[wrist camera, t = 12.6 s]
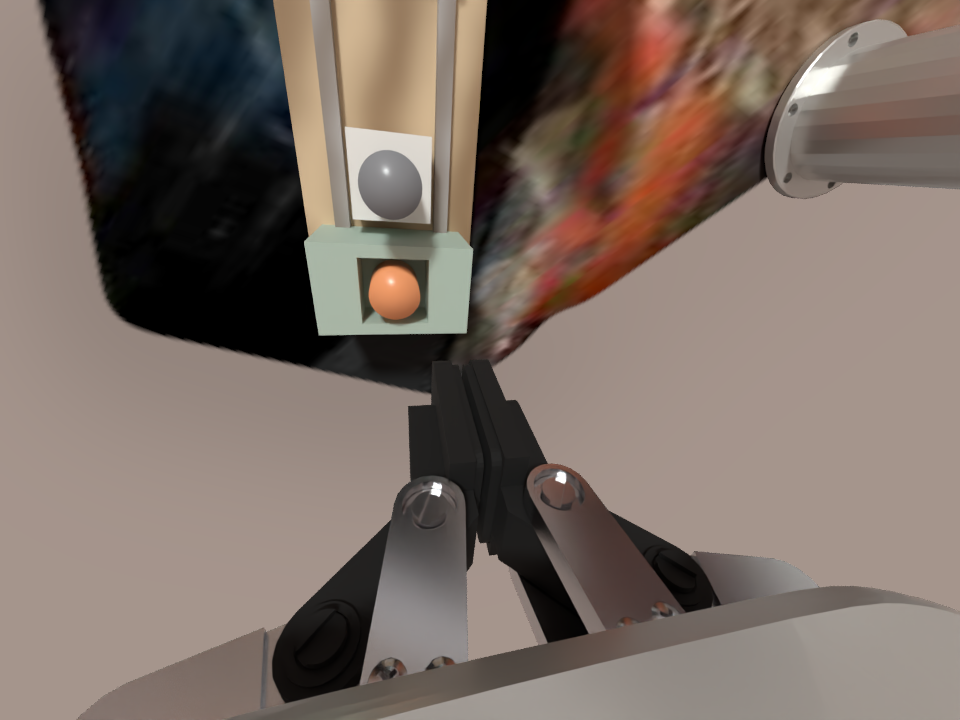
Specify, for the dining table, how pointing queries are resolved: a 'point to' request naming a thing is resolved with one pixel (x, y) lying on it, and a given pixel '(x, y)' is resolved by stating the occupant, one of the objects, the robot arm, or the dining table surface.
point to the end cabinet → (351, 261)
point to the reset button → (394, 290)
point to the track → (383, 95)
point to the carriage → (389, 175)
